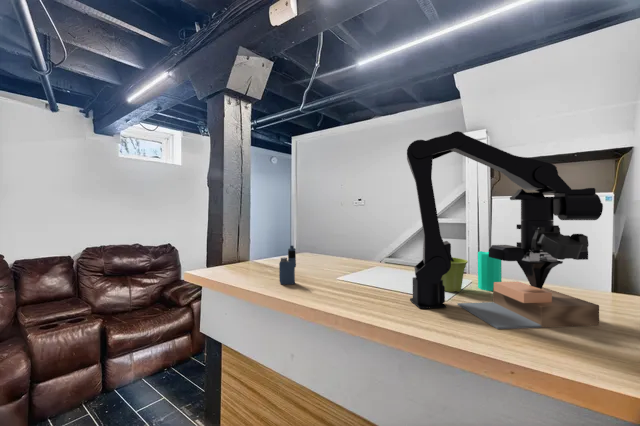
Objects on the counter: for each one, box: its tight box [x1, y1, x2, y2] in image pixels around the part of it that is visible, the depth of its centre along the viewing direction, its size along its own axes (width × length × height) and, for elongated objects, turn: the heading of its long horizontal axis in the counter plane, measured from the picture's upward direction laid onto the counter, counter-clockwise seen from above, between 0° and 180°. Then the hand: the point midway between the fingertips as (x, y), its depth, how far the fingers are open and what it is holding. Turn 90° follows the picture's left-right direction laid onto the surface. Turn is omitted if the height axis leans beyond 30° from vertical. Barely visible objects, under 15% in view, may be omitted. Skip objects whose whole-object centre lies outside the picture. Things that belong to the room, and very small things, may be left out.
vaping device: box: [278, 245, 297, 285], centre depth 90 cm, size 3×5×12 cm, turn 89°
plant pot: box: [441, 257, 469, 293], centre depth 82 cm, size 9×9×9 cm
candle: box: [477, 246, 503, 292], centre depth 83 cm, size 6×6×12 cm
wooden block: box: [492, 287, 600, 328], centre depth 63 cm, size 12×14×4 cm
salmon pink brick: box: [494, 281, 552, 303], centre depth 62 cm, size 6×9×2 cm, turn 4°
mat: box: [456, 301, 543, 330], centre depth 62 cm, size 9×14×1 cm, turn 4°
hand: (536, 291), depth 63 cm, fingers closed
